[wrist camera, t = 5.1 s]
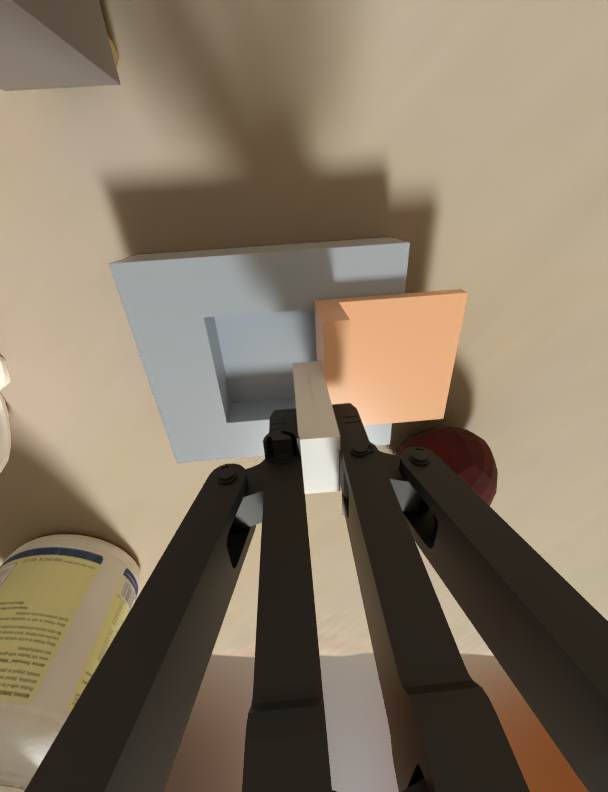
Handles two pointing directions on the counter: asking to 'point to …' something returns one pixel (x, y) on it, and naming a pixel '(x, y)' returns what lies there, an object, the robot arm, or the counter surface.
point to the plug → (55, 45)
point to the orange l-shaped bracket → (390, 352)
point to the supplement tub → (54, 638)
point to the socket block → (241, 331)
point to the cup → (4, 418)
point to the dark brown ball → (461, 457)
